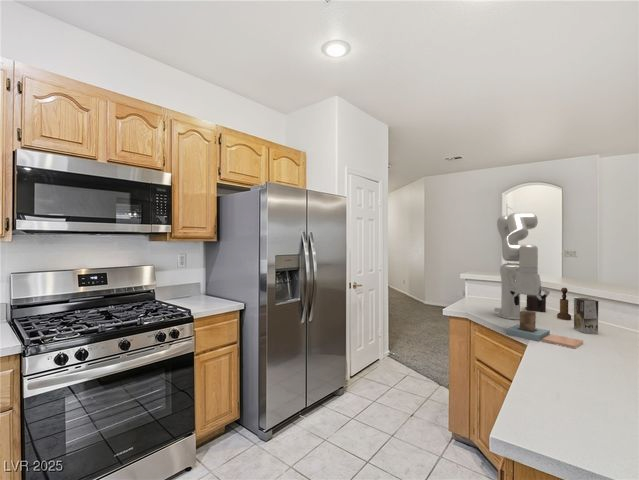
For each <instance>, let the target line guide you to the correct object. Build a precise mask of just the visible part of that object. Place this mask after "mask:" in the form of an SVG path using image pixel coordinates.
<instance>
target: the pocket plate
mask: <svg viewBox="0 0 639 480" xmlns="http://www.w3.org/2000/svg"><path fill="white" fill-rule="evenodd" d="M550 331H551V330H550V329H546V328H545V329H543V328H540V327H535V332H528V331H523V330H520V323H519V324H518V323H516V324H514V325H512V326H508V327H507V328H505V335H509V336H512V337H513V336H514V337H518V338H523V339H525V340H527V339H528V340H531V341H535V340H536V342H541V341H542V339H543V338H545V337H547V336H549V335H551V333H550Z"/></svg>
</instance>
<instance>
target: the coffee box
mask: <svg viewBox="0 0 639 480" xmlns="http://www.w3.org/2000/svg"><path fill="white" fill-rule="evenodd" d="M599 302H600V301H599V300H595V299H592V298H588V297H573V329H574V330H576V331H578V332H581V333H583V334H590V335H591V334H593V335H598V334H599Z"/></svg>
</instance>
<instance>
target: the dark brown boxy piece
mask: <svg viewBox="0 0 639 480" xmlns="http://www.w3.org/2000/svg"><path fill="white" fill-rule="evenodd" d="M541 295H542V296H543V295H544V294H541ZM538 300H539V299H538V298H537V296H533V295H526V303H525V305H526V306H525V307H524V308H525V311H531V312H536V313H546V312H547V311H546V310H547V309H546V307H547V301H546V300H547V297H546V298H545V299H544V300H543V307H542V308H540V309H538Z"/></svg>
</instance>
